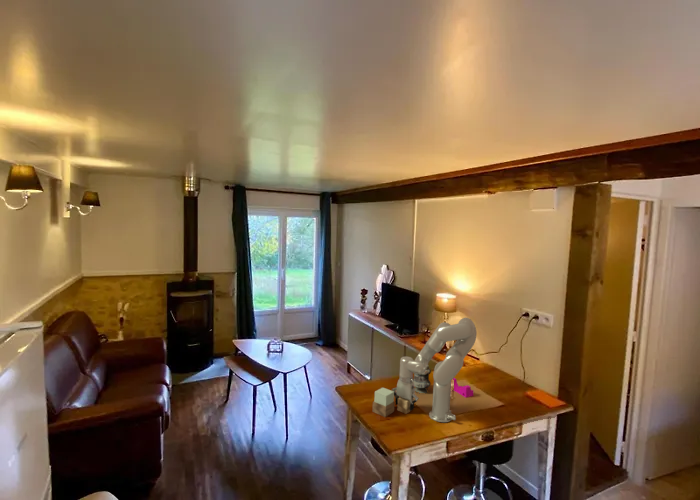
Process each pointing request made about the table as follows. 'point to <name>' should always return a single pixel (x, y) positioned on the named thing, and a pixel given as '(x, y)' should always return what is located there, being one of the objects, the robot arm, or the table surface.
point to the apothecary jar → (422, 381)
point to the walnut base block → (383, 409)
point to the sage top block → (384, 396)
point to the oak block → (403, 405)
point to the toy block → (463, 389)
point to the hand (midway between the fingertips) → (404, 407)
